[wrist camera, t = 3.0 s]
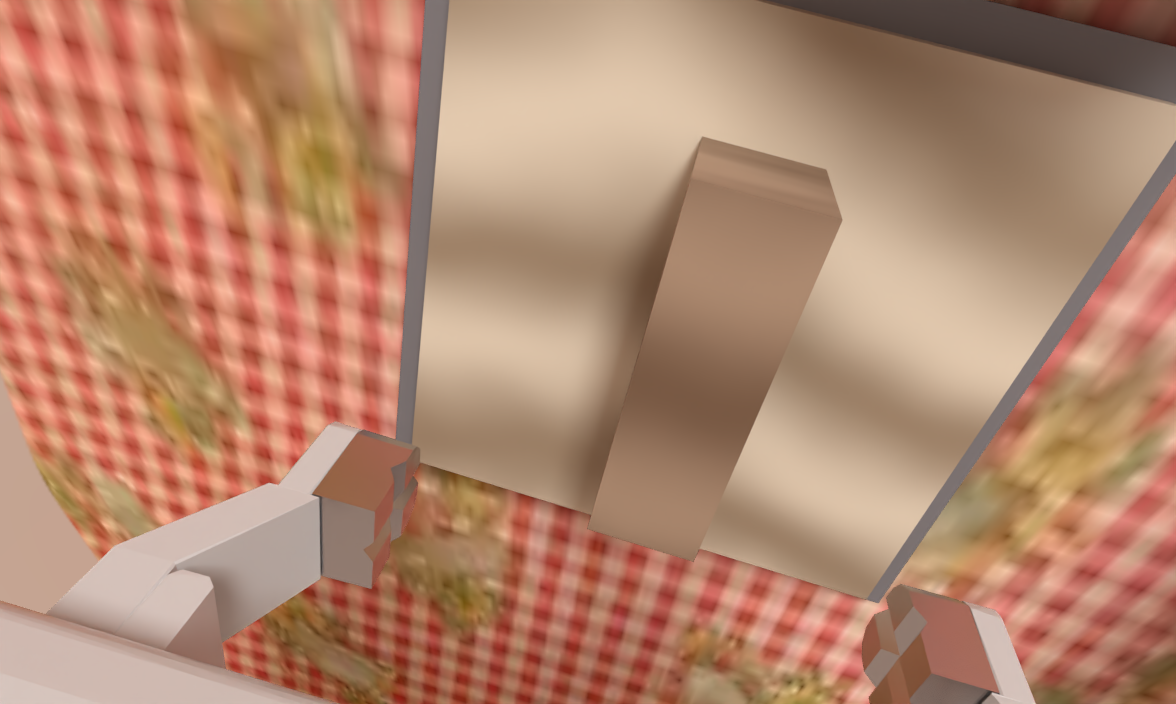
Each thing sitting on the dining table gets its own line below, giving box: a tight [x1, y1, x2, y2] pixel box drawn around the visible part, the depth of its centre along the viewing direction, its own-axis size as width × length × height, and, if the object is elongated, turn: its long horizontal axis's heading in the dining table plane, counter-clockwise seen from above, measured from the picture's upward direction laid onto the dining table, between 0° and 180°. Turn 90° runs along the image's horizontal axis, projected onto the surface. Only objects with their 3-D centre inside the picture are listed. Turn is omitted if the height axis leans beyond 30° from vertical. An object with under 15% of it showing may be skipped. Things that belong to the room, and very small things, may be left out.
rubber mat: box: [396, 0, 1176, 603], centre depth 20 cm, size 18×18×1 cm
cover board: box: [412, 0, 1176, 600], centre depth 18 cm, size 16×16×4 cm
